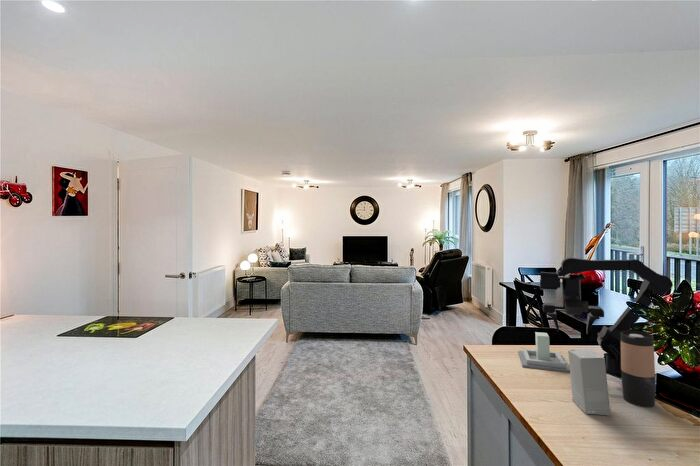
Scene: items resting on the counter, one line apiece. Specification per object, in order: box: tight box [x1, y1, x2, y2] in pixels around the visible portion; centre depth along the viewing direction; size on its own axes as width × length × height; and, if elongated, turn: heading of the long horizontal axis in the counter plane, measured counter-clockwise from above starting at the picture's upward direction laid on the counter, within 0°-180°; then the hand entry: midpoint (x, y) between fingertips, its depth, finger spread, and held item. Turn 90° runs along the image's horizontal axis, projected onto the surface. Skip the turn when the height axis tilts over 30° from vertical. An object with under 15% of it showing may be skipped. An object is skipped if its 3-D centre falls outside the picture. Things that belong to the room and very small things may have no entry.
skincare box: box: [567, 349, 611, 416], centre depth 96 cm, size 8×7×16 cm
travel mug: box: [621, 330, 656, 408], centre depth 99 cm, size 8×8×20 cm
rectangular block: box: [534, 331, 551, 361], centre depth 130 cm, size 4×5×10 cm
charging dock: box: [517, 348, 570, 373], centre depth 130 cm, size 16×16×2 cm
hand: (572, 332), depth 124 cm, fingers open, 9 cm apart
